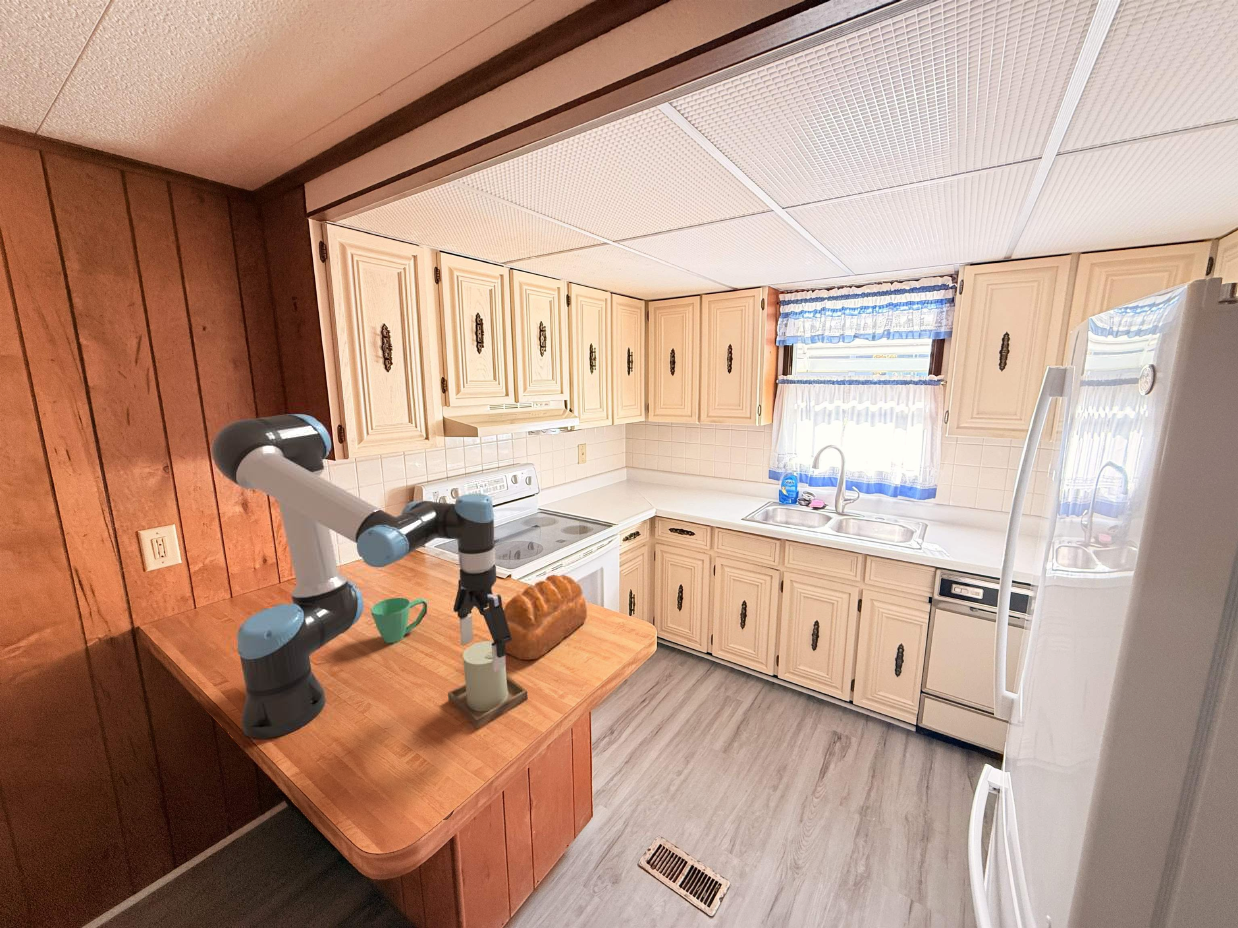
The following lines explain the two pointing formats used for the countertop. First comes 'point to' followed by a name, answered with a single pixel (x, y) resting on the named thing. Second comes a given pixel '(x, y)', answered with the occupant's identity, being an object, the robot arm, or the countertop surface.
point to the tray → (481, 718)
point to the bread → (544, 616)
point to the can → (483, 678)
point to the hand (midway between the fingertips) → (482, 655)
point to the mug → (396, 617)
